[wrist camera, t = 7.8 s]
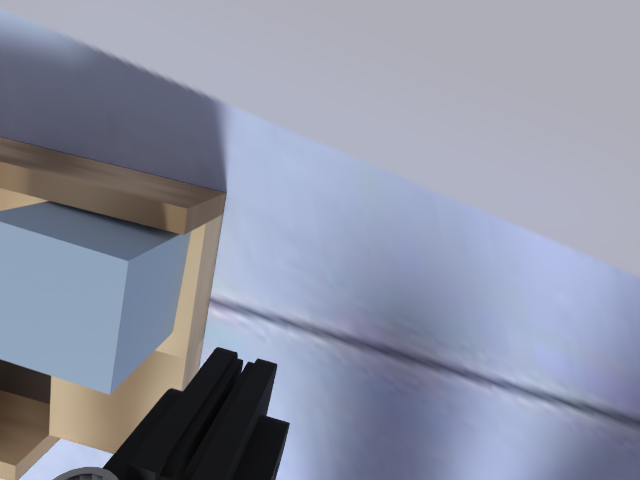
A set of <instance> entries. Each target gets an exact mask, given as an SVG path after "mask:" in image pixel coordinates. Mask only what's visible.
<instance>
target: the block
mask: <svg viewBox="0 0 640 480" xmlns="http://www.w3.org/2000/svg"><path fill="white" fill-rule="evenodd" d="M190 236H191V232H189V233H187V234H185V235H182V234H178V233H174V232H170V231H166V230H162V229H158V228H154V227H150V226H147V225H143V224H139V223H135V222H131V221H127V220H123V219H119V218H115V217H111V216H107V215H103V214H100V213H96V212H92V211H88V210H84V209H80V208H76V207H72V206H68V205H64V204H60V203H56V202H52V201H46V202H41V203H36V204H32V205H27V206H22V207H17V208H12V209H7V210H2V211H0V359H1V360H4V361H7V362H11V363H14V364H17V365H20V366H23V367H26V368H29V369H32V370H35V371H38V372H41V373H44V374H47V375H50V376H53V377H57V378H60V379H63V380H66V381H69V382H72V383H75V384H78V385H81V386H84V387H87V388H90V389H93V390H96V391H100V392H103V393H106V394H109V395H110V394H111V393H112V392H113V391H114V390H115V389H116V388H117V387H118V386H119V385H120V384H121V383H122V382H123V381H124V380H125V379H126V378H127V377H128V376H129V375H130V374H131V373H132V372H133V371H134V370H135V369H136V368H137V367H138V366H139V365H140V364H141V363H142V362H143V361H144V360H145V359H146V358H147V357H148V356H149V355H150V354H151V353H152V352H153V351H154V350H155V349H157V348H158V347H159V346H160V345H161V344H162V343H163V342H164V341H165V340H166V339H167V338H168V337H169V336H170V335H171V334H172V333H173V328H174V323H175V317H176V312H177V307H178V301H179V296H180V290H181V285H182V279H183V274H184V269H185V263H186V258H187V252H188V247H189V241H190Z"/></svg>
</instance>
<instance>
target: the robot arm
mask: <svg viewBox="0 0 640 480" xmlns="http://www.w3.org/2000/svg"><path fill="white" fill-rule="evenodd" d="M237 357H238V354H237V352H233V351H230V350H226V349H223V348H219V347H217V348H216V349H215V350H214V351H213V353H212V354H211V355H210V357H209V358H208V359H207V361H206V362H205V363H204V364H203V366H202V367H201V368H200V370H199V371H198V372H197V374H196V375H195V376H194V378H193V379H192V380H191V381H190V383H189V384H188V385H187V387H186V388H185V389H184V391H180V390H177V389H174V388H170V389H168V390H167V391H166V392H165V393H164V394H163V396H162V397H161V398H160V399H159V400H158V402H157V403H156V404H155V405H154V407H153V408H152V409H151V410H150V411H149V413H148V414H147V415H146V416H145V417H144V419H143V420H142V421H141V422H140V423H139V425H138V426H137V427H136V428H135V429H134V431H133V432H132V433H131V434H130V436H129V437H128V438H127V439H126V440H125V442H124V443H123V444H122V445H121V446H120V448H119V449H118V450H117V451H116V452H115V454H114V455H113V456H112V457H111V458H110V460H109V461H108V462H107V463H106V464H105V466H104V467H103V468H99V467H83V468H78V469H73V470H71V471H68V472H66V473H64V474H61V475H59V476H57V477H56V478H55V479H53V480H275V479H276V476H277V472H278V468H279V465H280V461H281V457H282V454H283V450H284V446H285V442H286V438H287V433H288V429H289V424H290V423H288V422H285V421H281V420H278V419H275V418H271V417H268V416H266V415H267V411H268V406H269V402H270V397H271V393H272V388H273V384H274V379H275V374H276V370H277V364H276V363H272V362H269V361H265V360H262V359H257V360H256V362H255V363H251V362H248V363H247V364H246V366H245V368H244V370H243V371H242V366H243V360H241V359H238V358H237ZM241 371H242V373H241Z"/></svg>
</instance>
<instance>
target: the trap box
mask: <svg viewBox="0 0 640 480" xmlns="http://www.w3.org/2000/svg"><path fill="white" fill-rule="evenodd" d="M225 200H226V193H225V192H221V191H217V190H213V189H209V188H205V187H201V186H196V185H192V184H188V183H184V182H180V181H176V180H172V179H168V178H164V177H160V176H156V175H152V174H148V173H144V172H140V171H136V170H132V169H128V168H124V167H119V166H115V165H111V164H107V163H103V162H99V161H95V160H91V159H87V158H83V157H79V156H75V155H71V154H67V153H63V152H59V151H55V150H51V149H46V148H42V147H38V146H34V145H30V144H26V143H22V142H18V141H14V140H10V139H6V138H2V137H0V211H2V210H7V209H12V208H17V207H22V206H27V205H32V204H36V203H41V202H46V201H52V202H56V203H60V204H64V205H68V206H72V207H76V208H80V209H84V210H88V211H92V212H96V213H100V214H103V215H107V216H111V217H115V218H119V219H123V220H127V221H131V222H135V223H139V224H143V225H147V226H150V227H154V228H158V229H162V230H166V231H170V232H174V233H178V234H182V235H185V234H187V233H189V232H191V236H190V241H189V247H188V252H187V258H186V263H185V269H184V274H183V279H182V285H181V290H180V296H179V301H178V307H177V312H176V317H175V323H174V328H173V333H172V334H171V335H170V336H169V337H168V338H167V339H166V340H165V341H164V342H163V343H162V344H161V345H160V346H159V347H158V348H157V349H155V350H154V351H153V352H152V353H151V354H150V355H149V356H148V357H147V358H146V359H145V360H144V361H143V362H142V363H141V364H140V365H139V366H138V367H137V368H136V369H135V370H134V371H133V372H132V373H131V374H130V375H129V376H128V377H127V378H126V379H125V380H124V381H123V382H122V383H121V384H120V385H119V386H118V387H117V388H116V389H115V390H114V391H113V392H112V393H111V394H110V395H109V394H106V393H103V392H100V391H96V390H93V389H90V388H87V387H84V386H81V385H78V384H75V383H72V382H69V381H66V380H63V379H60V378H57V377H53V376H50V375H47V374H44V373H41V372H38V371H35V370H32V369H29V368H26V367H23V366H20V365H17V364H14V363H11V362H7V361H4V360H1V359H0V478H2V479H5V480H19V479H20V478H21V477H22V476H23V475H24V474H25V473H26V472H27V471H28V470H29V469H30V468H31V467H32V466H33V465H34V464H35V463H36V462H37V461H38V460H39V459H40V458H41V457H42V456H43V455H44V454H45V453H46V452H47V451H48V450H49V449H50V448H51V447H52V446H53V445H54V444H55V443H56V442H58V441H59V440H60V439H65V440H68V441H72V442H75V443H78V444H82V445H85V446H89V447H92V448H95V449H99V450H102V451H106V452H109V453H112V454H115V452H116V451H117V450H118V449H119V448H120V446H121V445H122V444H123V443H124V442H125V440H126V439H127V438H128V437H129V436H130V434H131V433H132V432H133V431H134V429H135V428H136V427H137V426H138V425H139V423H140V422H141V421H142V420H143V419H144V417H145V416H146V415H147V414H148V413H149V411H150V410H151V409H152V408H153V407H154V405H155V404H156V403H157V402H158V400H159V399H160V398H161V397H162V396H163V394H164V393H165V392H166V391H167V390H168V389H170V388H174V389H177V390H180V391H184V389H185V388H186V387H187V385H188V384H189V383H190V381H191V380H192V379H193V378H194V376H195V375H196V374H197V372H198V370H199V364H200V358H201V351H202V345H203V339H204V332H205V326H206V320H207V313H208V307H209V301H210V294H211V288H212V282H213V275H214V269H215V263H216V256H217V250H218V244H219V237H220V231H221V225H222V218H223V212H224V206H225Z"/></svg>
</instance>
